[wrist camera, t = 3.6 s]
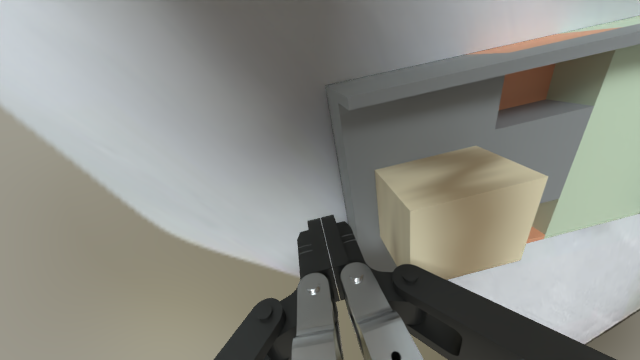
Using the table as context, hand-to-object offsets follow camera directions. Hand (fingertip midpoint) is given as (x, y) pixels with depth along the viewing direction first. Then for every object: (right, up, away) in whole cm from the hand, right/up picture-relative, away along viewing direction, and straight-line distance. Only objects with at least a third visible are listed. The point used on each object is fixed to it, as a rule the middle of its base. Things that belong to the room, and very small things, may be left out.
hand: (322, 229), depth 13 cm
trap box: (+13, +5, +4) cm, 14 cm away
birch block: (+6, +2, +1) cm, 7 cm away
